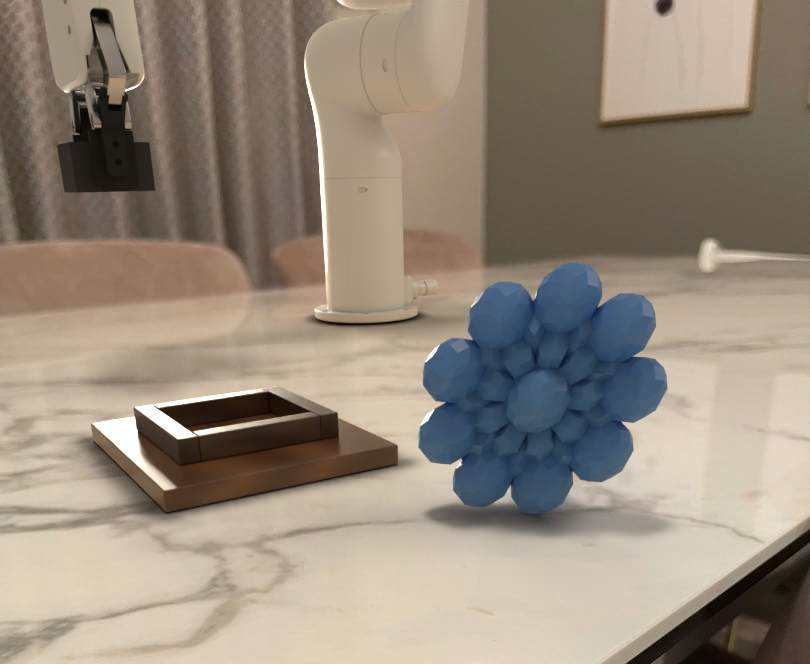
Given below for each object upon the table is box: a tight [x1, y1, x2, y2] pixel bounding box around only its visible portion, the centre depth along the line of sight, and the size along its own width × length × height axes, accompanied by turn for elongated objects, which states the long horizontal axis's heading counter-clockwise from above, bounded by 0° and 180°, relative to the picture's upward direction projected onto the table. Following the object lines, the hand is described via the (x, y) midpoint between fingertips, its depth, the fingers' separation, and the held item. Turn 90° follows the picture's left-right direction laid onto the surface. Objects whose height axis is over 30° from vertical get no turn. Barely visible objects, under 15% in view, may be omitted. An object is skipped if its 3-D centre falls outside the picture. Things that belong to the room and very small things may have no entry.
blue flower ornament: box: [417, 262, 669, 515], centre depth 41 cm, size 12×7×12 cm, turn 82°
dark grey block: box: [56, 141, 156, 194], centre depth 67 cm, size 6×5×4 cm
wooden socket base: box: [90, 385, 399, 513], centre depth 53 cm, size 14×16×3 cm
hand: (109, 185), depth 67 cm, fingers closed on dark grey block, 5 cm apart
